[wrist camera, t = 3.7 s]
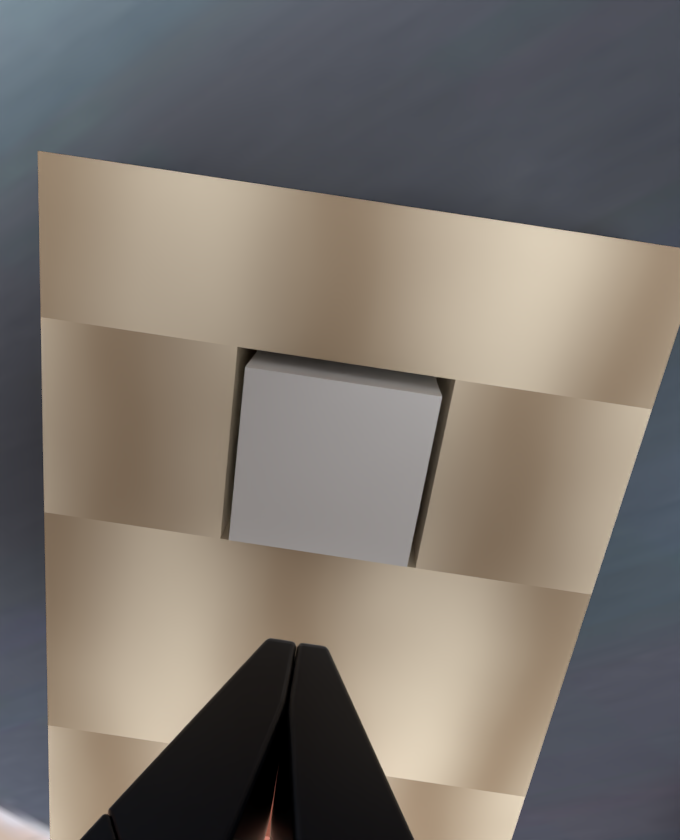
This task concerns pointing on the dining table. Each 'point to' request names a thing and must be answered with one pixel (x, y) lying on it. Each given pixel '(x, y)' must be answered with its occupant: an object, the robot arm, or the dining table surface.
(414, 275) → the console
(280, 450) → the button grey
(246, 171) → the dining table surface
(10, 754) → the dining table surface
